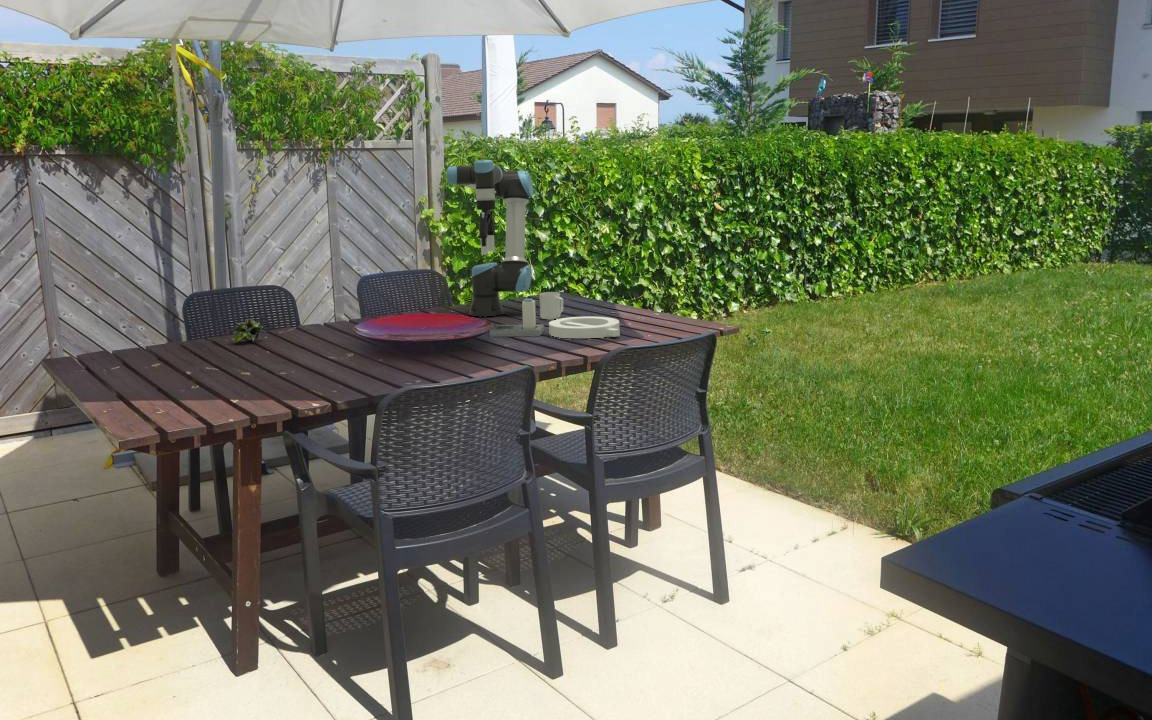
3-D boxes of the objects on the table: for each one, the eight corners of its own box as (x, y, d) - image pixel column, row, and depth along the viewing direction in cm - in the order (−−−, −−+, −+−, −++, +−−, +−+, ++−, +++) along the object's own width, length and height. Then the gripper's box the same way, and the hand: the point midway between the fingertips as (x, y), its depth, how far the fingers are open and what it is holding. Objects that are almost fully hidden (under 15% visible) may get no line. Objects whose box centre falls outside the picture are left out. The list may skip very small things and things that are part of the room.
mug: (536, 319, 409) (535, 293, 407) (550, 316, 416) (549, 291, 413) (556, 321, 401) (555, 295, 399) (570, 318, 408) (569, 293, 405)
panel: (495, 330, 383) (495, 324, 382) (544, 330, 381) (544, 324, 380) (489, 336, 370) (489, 330, 370) (539, 336, 368) (539, 330, 367)
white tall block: (525, 332, 377) (523, 298, 374) (536, 332, 377) (534, 298, 374) (523, 334, 373) (522, 300, 370) (534, 334, 372) (533, 300, 370)
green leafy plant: (252, 354, 377) (266, 328, 380) (257, 353, 367) (272, 326, 370) (226, 341, 372) (240, 314, 375) (230, 339, 362) (245, 312, 365)
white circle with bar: (620, 339, 358) (620, 327, 357) (547, 341, 359) (547, 329, 358) (618, 327, 386) (618, 315, 385) (550, 328, 387) (550, 317, 386)
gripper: (488, 200, 361) (491, 255, 365) (500, 198, 385) (502, 249, 390) (469, 201, 362) (472, 256, 366) (482, 198, 386) (485, 250, 390)
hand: (488, 253), depth 378 cm, fingers open, 13 cm apart
